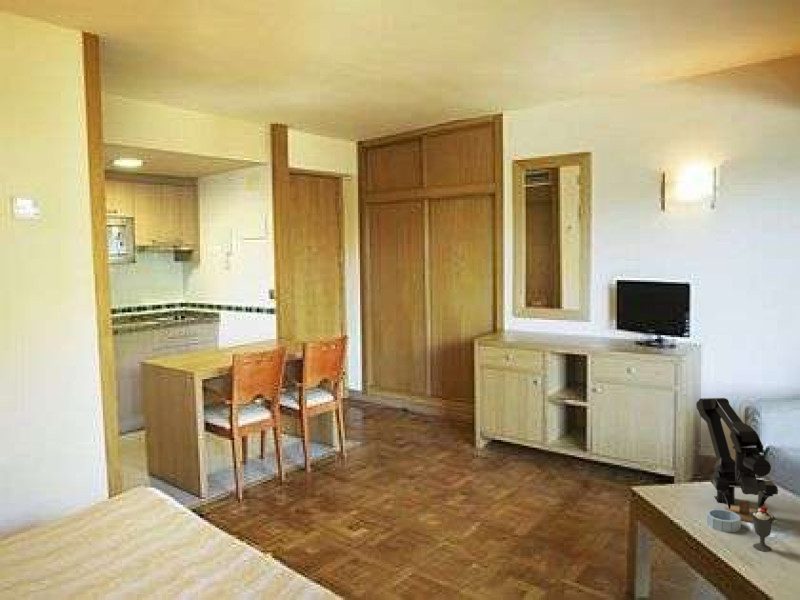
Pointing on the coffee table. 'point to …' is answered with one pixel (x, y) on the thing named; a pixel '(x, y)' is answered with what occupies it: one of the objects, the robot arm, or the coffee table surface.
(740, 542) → the coffee table surface
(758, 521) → the sundae
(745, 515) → the lid
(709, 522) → the bowl
